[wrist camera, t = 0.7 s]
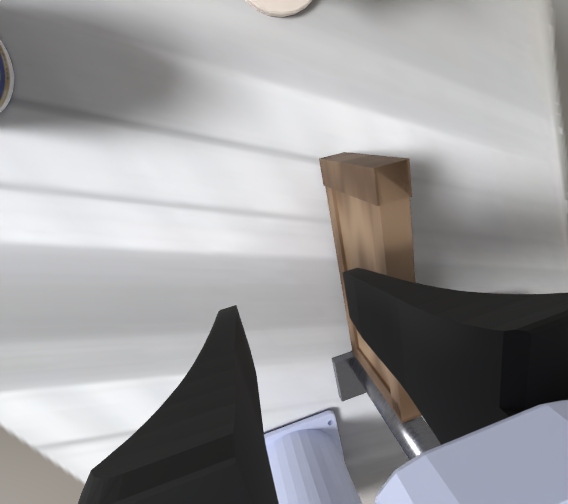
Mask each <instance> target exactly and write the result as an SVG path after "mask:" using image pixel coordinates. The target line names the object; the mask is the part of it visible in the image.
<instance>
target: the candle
mask: <svg viewBox="0 0 568 504" xmlns="http://www.w3.org/2000/svg"><path fill="white" fill-rule="evenodd" d="M245 1H246V2H247V3H248V4H250V5H251V6H252V7H253V8H255V9H256V10H257V11H260V12H262V13H264V14H267V15H269V16H277V17H285V16H290V15H294V14H296V13H298V12H299V11H301V10H303V9H304V8H306V7H307V6H308V5H309V4H310V2H311V1H312V0H245Z"/></svg>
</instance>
